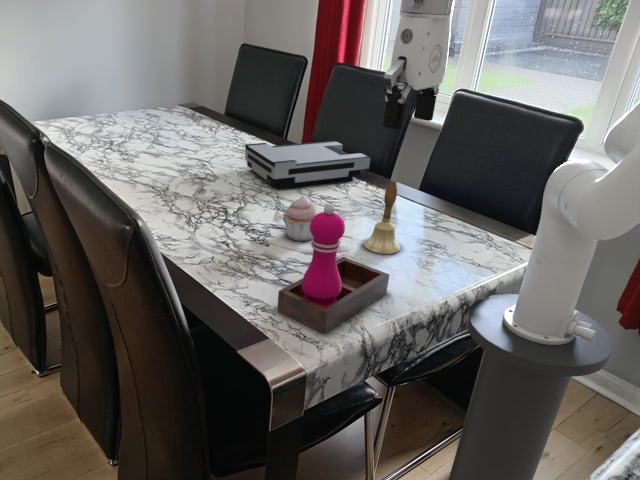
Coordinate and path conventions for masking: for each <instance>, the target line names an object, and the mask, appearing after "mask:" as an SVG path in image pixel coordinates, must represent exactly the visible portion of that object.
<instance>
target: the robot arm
mask: <svg viewBox="0 0 640 480" xmlns="http://www.w3.org/2000/svg"><path fill="white" fill-rule="evenodd" d="M455 1H456V0H401V3H400V9H399V10H400V12H399V16H400V19H399V23H398V26H397V31H396V36H395V40H394V45H393V50H392V54H391V61H390V67H389V69H387V70H386V72H384V75H383V81H384V82H383V83H384V90H383V92H384V93H385V95H384V100H385V109H384V115H383V123H382V126H383V128H387V129H392V130H396V131H401V130H403V128H404V123H405V117H406V110H407V103H405V101H406V99H407V97H408V95H409V93H410V91H411V89H413V91H419V92H417V94H416V99H415V105H414V112H413V118H414V119H417V120H423V121H427V122H430V121H433V118H434V114H435V107H436V101H437V97H438V95H439V92H440V85H441V84H442V83H444V81H445V78H446V71H447V65H448V58H449V50H450V42H451V27H452V17H453V11H454V7H455ZM400 90H401V91H400ZM603 149H604V151H605V154H606V156H607V157H608V158H609V159H610V160H611V161H612V162H613V163H614V164H616V165H615V166H614V167H613V168H612V169H611V170H609V169H608V168H607V167H605V166H603V165H602V164H600V163H598V162H596V161H593V160H589V159H584V158H583V159H580V158H579V159H573V160H570V161H566V162H563V164H561V165H560V166H558V167H557V168H556V169H555V170H554V171H553V172H552V173H551V174H550V176H549V178H548V179H547V182H546V185H545V186H544V187H545V188H544V190H543V196H542V203H541V213H540V219H539V223H538V227H537V231H536V235H535V238H534V241H533V245H532V248H531V251H530V255H529V258H528V261H527V265H526V268H525V272H524V276H523V279H522V282H521V286H520V289H519V293H518V294H519V296H518V299H517V302H516V306H513V307H510V308H508V309H507V310H506V311H505V313H504V316H503V322H504V324H505V325H506V327H507V328H508V329H509V330H510V331H512V332H513V333H515V334H516V335H518V336H520V337H522V338H524V339H527V340H529V341H532V342H536V343H540V344H546V345H562V344H566V343H569V342H571V341H572V340H573V339H574V338H575V335H577V336H580V337H581V338H584V339H586V340H589V341H592V340H593V338H594V336H595V333H596V331H594V330H591V327H592V325H591V324H588V323H586V322H582V321H579V319H578V318H576V315H577V313H578V311H579V310H578V309H576V306H577V303H578V300H579V298H580V294H581V291H582V288H583V285H584V283H585V281H586V277H587V274H588V272H589V269H590V266H591V263H592V261H593V258H594V255H595V252H596V250H597V245H598V242H599V241H607V240H612V239H615V238H618V237H620V236H621V235H624V234H625V233H627V232H629V231H631V230H632V229H634V227H636V226H637V225H638V224H640V100H639V101H638V102H637V103H636V104H635V105H634V106H632V108H630V109H629V110H628V111H627V112H626V113H625V114H624V115H623V116H622V117H620V118H619V119H618V120H617V121H616V122H615V123H614V124H613V125H612V126H611V127H610V129H609V130H608V131H607V133H606V135H605V137H604V141H603ZM574 309H576V310H574ZM577 310H578V311H577Z"/></svg>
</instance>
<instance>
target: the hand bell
mask: <svg viewBox="0 0 640 480" xmlns="http://www.w3.org/2000/svg"><path fill="white" fill-rule="evenodd" d="M397 196H398V187H397V180H395V179H390V180H389V183H388V184H387V186H386V188H385V191H384V199H383V201H384V211H383V215H382V219H381V221H378V222H376V223H375V225H374V228H373V231H372V233H371V235H370V237H369V238H367V239H365V241H364V243H363V246H364V248H365V249H367V250H368V251H370V252H373V253H376V254H382V255H392V254H393V255H394V254H396V253H398V252H399V251H400V250H401V246H400V244H399V243H398V242H397V240H396V226H395V225H394V224H393V223H392V222H391V216H392V210H393V206H394V204H395V203H396V200H397Z"/></svg>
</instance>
